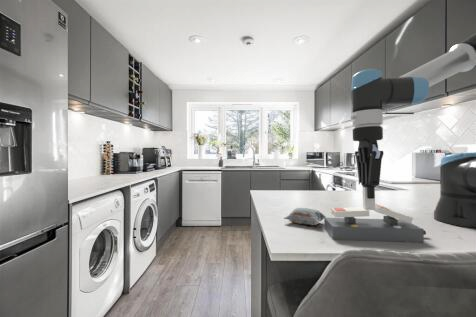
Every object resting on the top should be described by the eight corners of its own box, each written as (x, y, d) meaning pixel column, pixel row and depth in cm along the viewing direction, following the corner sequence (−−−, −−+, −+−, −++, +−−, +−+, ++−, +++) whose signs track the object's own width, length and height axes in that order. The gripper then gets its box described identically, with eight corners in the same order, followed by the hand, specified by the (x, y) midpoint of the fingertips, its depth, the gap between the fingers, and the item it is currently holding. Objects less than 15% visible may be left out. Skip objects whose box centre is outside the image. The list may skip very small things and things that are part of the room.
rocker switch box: (414, 231, 70) (414, 214, 70) (436, 242, 61) (436, 223, 61) (324, 228, 73) (324, 212, 73) (332, 239, 64) (332, 220, 64)
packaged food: (319, 230, 73) (319, 214, 73) (283, 224, 79) (283, 209, 79) (326, 223, 80) (326, 209, 80) (292, 218, 86) (292, 205, 86)
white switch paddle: (363, 212, 70) (362, 206, 70) (369, 216, 65) (369, 210, 65) (331, 213, 71) (331, 207, 71) (335, 217, 66) (335, 211, 66)
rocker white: (402, 218, 69) (404, 213, 68) (411, 223, 64) (413, 217, 64) (370, 208, 69) (372, 203, 69) (378, 212, 65) (380, 206, 65)
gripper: (345, 129, 74) (347, 204, 74) (362, 124, 61) (365, 215, 61) (370, 128, 73) (372, 204, 73) (393, 123, 60) (395, 215, 61)
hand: (369, 209), depth 67 cm, fingers closed
